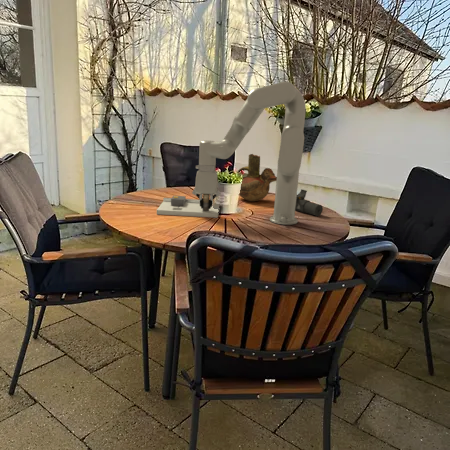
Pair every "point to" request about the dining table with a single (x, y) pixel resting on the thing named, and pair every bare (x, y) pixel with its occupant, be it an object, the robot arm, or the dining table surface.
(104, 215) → the dining table surface
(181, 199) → the block
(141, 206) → the dining table surface
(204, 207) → the tan cylinder
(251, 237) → the dining table surface
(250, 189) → the ceramic vessel
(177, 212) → the wall panel
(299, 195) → the laser sight
